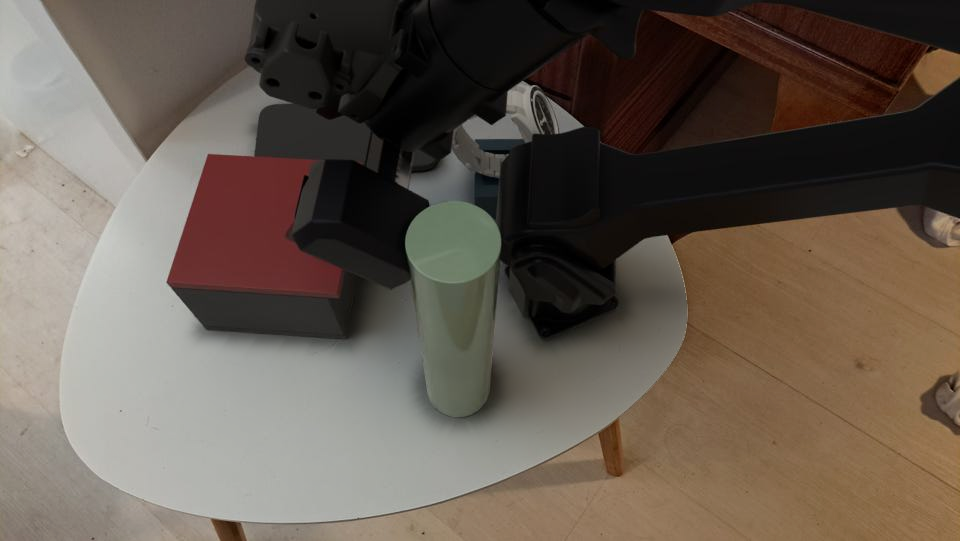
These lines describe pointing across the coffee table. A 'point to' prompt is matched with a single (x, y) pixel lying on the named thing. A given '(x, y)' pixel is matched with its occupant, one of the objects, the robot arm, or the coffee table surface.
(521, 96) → the watch
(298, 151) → the phone
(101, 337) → the coffee table surface
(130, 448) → the coffee table surface
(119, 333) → the coffee table surface
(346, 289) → the lidded storage box
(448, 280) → the pale green cylinder
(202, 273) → the storage box lid
